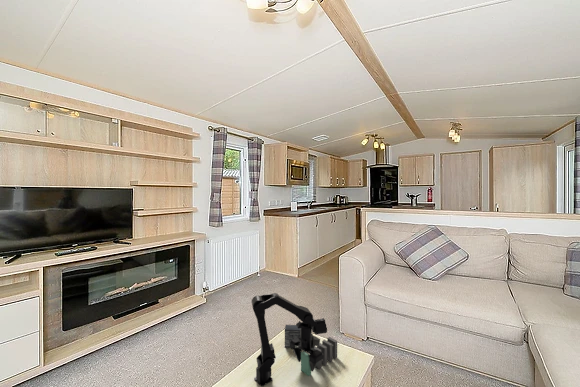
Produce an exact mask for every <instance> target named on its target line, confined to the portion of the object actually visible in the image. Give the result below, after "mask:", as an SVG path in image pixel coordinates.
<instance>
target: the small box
mask: <svg viewBox="0 0 580 387" xmlns="http://www.w3.org/2000/svg"><path fill="white" fill-rule="evenodd" d="M296 337H300V328H298V327H297V326H296V324H285V327H284V348H291V347H290V341H291V340H292V339H294V338H296ZM291 349H292V348H291Z"/></svg>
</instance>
